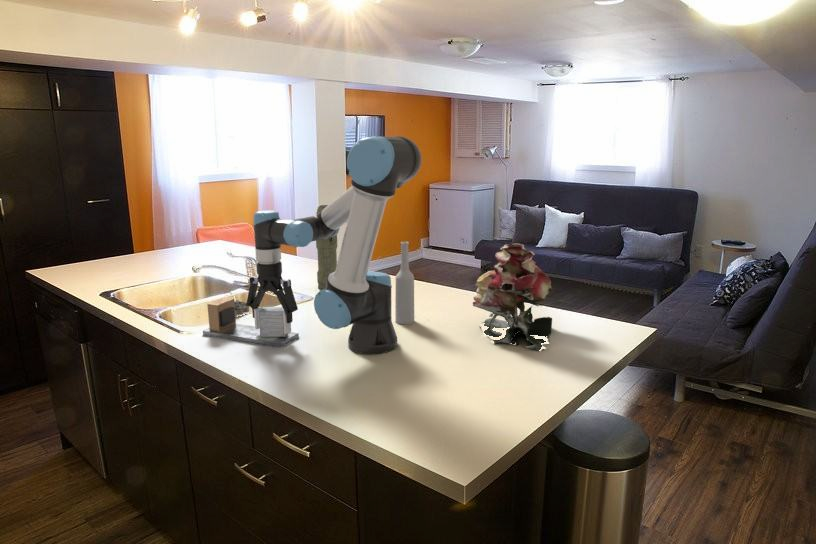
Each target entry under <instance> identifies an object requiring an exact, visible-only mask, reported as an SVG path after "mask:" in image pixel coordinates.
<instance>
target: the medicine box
mask: <svg viewBox="0 0 816 544" xmlns="http://www.w3.org/2000/svg"><path fill="white" fill-rule="evenodd" d="M283 313H285V311H284V309H283V307H282V306H265V307H264V306H262V307H261V309H260V310H259V311H258V314H259V327H260V337H285V336H286V334H284V321H283Z"/></svg>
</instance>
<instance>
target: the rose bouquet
mask: <svg viewBox="0 0 816 544" xmlns="http://www.w3.org/2000/svg"><path fill="white" fill-rule="evenodd" d="M494 256H495V258H496V261H498V263H497V264H495V265H493V268H494V270H488V271H487V272H485V273H483V274H482V275H480V276H479V277H478V278H477V280H476V282H475V287H477V289H476V291H475V293H476V295H475V296H473V300H474V301H473V302H472V306H473V307H474V308H478V309H480V310H481V309H482V310H484V311H486V312H489V313H490V315H489V318H487V319H485V320H484V321H483V322H482V323H485V324H484V326H487V327H489V328H488V329H487V330H485V331H484V333H485V334H486V335H489V336H493V337H499V336H501V335H502V333H500V332H496V331H493V330H492V329H493V328H494V327H495V328H507V327H510V328H509V329H507V330H506V335H505V337H504V338H502V339H500V340H493V341H494V342H495V344H497V343H503V344H508V343H512V344H511V345H513V344H515V343H517V342H516V341H514V340H513V339H515V338H516V335H517V334H518V333H520V334H523V335H525V336H526V337H525V338H526V341H528V342H530V344H533V345H525V346H524V348H527V349H532V350H536V351H539V350H540V349H541V347H542V345H541V343H544V342H546V341H544V340H543V339H535V338H533V337H532V336H530V335H538V336H545V337H546V336H548V337H549V336H551V334H552V327H553V325H552V324H553V317H550V316H543V317H538V318H534V316H533V313H532V308H533V306H536V307H539V306H540V307H542V304H538V303H541V302H544V301H547V300H548V301H549V300H550V298H548V299H546V297H547V295H548V294H549V292H550V291H554V289H553V288H552V286H551V285H552V280H551V279H550V277H549V276H547V275H546V274H545V272H544V271H543V270H542V269H541V268H540V267H539V266H538V265H537V262H536V261H534V260H533V259H532V258H533V257H535V256H536V254H535V252H533V251H532V250H528V249H527V248H525V245H524V244H522V243H518V242H517V243H516V242H515V243H514V242H513V243H511V244H509V243H505V244H504V245H503V246H502V247H500V251H498V252H495V255H494ZM526 303H527V304H530V305H532V306H530V307H528V309H526V310H525V308H526V307H525V304H526ZM518 310H519V314H518ZM498 316H499V317H502V318H504V320H501V319H499V318H497V317H498ZM533 318H534V319H533ZM507 322H508V323H507ZM503 330H504V329H503ZM518 331H520V332H518ZM517 332H518V333H517ZM515 333H517V334H515ZM512 338H513V339H512ZM511 339H512V340H511ZM496 342H497V343H496Z"/></svg>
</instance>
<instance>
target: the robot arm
mask: <svg viewBox="0 0 816 544" xmlns="http://www.w3.org/2000/svg"><path fill="white" fill-rule="evenodd" d="M346 159H347V160H346V168H347V170H348V174H349V175H348V176H349V177H350V178H351V180H350V181H351V182H350V187H349V188H348V189H347V190H345V191H344V192H342V194H340V195H339V196H338V197H336V198H335V199H334V200H333V201H332V202H330V203H329V204H327V205H328V206H327V207H325V208H324V209H323V210H322V211H321V212H319V213H318V214H317V215H316V214H315V215H312V216H306V217H302V218H295V219H294V218H293V219H286V218H285V219H284V218H283V219H281V217H280V213H279V212H278V211H276V210H272V209H271V210H269V209H268V210H265V209H264V210H258V211H256V212H254V214H253V225H252V226H253V231H254V232H253V234H254V246H255V261H256V262H257V263H256V274H257V275H253V276H251V277H249V290H248V292H247V293H248V294H247V299H246V302H245V303H246V305H247V306H249V308H251V309H252V311H251V312H252V318H253V319H254V326H255V329H259V328H260V327H259V314H258V311H259V310H260V309H261V308H262V307H260V306H261V303H262V300H263V298H264V297H265V294H266V292H271V293H273V295H275V296H276V298H277V300H278V302H279V304H280V305H281V307H283V309H284V311H285V313H283V321H284V334H287V333H289V332H292V323H293V313H295V312H296V311H298V309H299V307H298V305H297V302H296V299H295V296H294V292H293V289H292V280H291V279H283V276H282V273H283V265H282V263H283V262H282V251H281V247H282V246H288V247H292V248H293V247H294V248H304V247H307V246H308V245H309V244H311V243H313V242H316V241H317V240H322V239H328V238H330V237H333V236H335V235H337V236H338V234H339V232H340V229H341V227H343V226H345V224H346V227H345V231H344V234H343V238H342V243H341V247H340V249H339V255H338V259H337V267H336V271H335V272H333V273H331V274H330V275H329V276H328V280H327V284H326V288H325V289H322V290H319V291H318V292H317V293H316V294H315V296H314V300H313V307H314V308H313V309H314V311H315V313H316V315H317V318H318V319H319V321H320V322H321V323H322V324H323V325H324V326H326V327H327V328H329V329H332V330H340V329H342V328H347V327H349V326H350V325H352V326H351V327H350V331H349V335H348V339H347V346H348V349H350V350H351V351H353V352H356V353H359V354H363V355H365V354H366V355H376V354H384V353H388V352H391V351H393V350H395V349H396V348H397V347H398V336H397V332H396V329H395V328H394V324H393V319H392V287H393V285H392V278H391V276H390V275H389V274H388V273H386V272H381V271H371V270H369V269H370V264H371V260H372V257H373V253H374V249H375V245H376V242H377V239H378V235H379V231H380V227H381V224H382V220H383V216H384V212H385V208H386V205H387V202H388V201H389V200H390V199H391V198H393V197H394V196H395V194H396V190H398V189H400V188H401V187H403V186H404V185H405V184H406V183H408V182H409V181H412V180H413V178H414V177H415V176H416V175H418V173H419V171H420V169H421V166H422V160H423V159H422V153H421V150H420V148H419V146H418V144H416V143H415V142H414V141H413V139H412V140H411V138H408V137H405V136H380V135H373V136H368V137H364V138H361V139H359V140H357V142H355V143H354V144H353V145H352V147H351V149H350V150H349V152H348V154H347V158H346Z"/></svg>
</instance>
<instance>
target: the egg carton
mask: <svg viewBox="0 0 816 544" xmlns="http://www.w3.org/2000/svg"><path fill="white" fill-rule="evenodd" d="M246 303H247V302H245V301H242V300H239V299H236V300H234V305H235V318H237V316H239V315H243V314H244V313H249V312H250V306H247V305H246Z"/></svg>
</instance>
